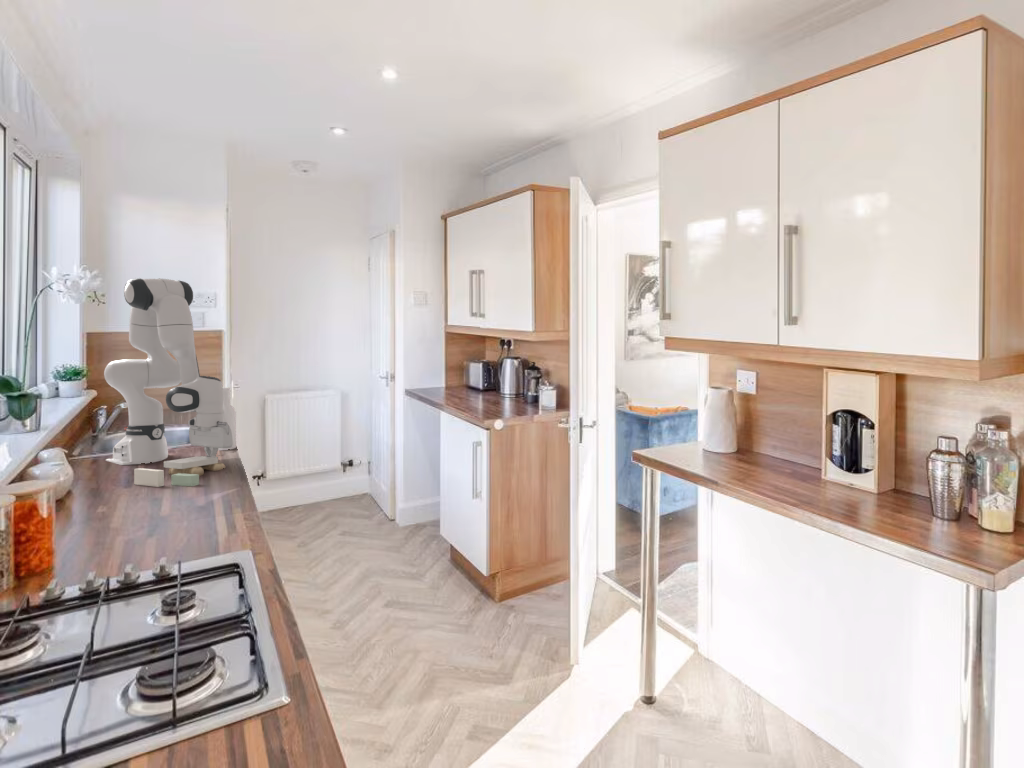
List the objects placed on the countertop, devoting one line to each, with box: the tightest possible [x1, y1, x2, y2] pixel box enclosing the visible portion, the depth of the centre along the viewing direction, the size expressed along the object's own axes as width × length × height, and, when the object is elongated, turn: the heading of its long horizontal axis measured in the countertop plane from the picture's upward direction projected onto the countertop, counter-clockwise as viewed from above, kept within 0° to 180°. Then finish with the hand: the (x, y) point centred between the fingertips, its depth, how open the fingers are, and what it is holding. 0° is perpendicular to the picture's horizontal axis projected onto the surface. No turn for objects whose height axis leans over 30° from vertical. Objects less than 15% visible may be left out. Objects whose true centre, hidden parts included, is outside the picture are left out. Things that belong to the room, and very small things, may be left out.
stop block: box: [133, 467, 165, 488], centre depth 189 cm, size 11×2×5 cm, turn 68°
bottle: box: [218, 386, 237, 451], centre depth 239 cm, size 8×8×30 cm
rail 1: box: [167, 467, 205, 477], centre depth 201 cm, size 12×4×4 cm, turn 68°
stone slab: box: [163, 455, 219, 469], centre depth 203 cm, size 9×14×2 cm, turn 156°
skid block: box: [170, 473, 200, 487], centre depth 189 cm, size 8×3×4 cm, turn 75°
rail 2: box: [197, 462, 226, 472], centre depth 210 cm, size 12×4×4 cm, turn 68°
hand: (211, 459), depth 211 cm, fingers closed
